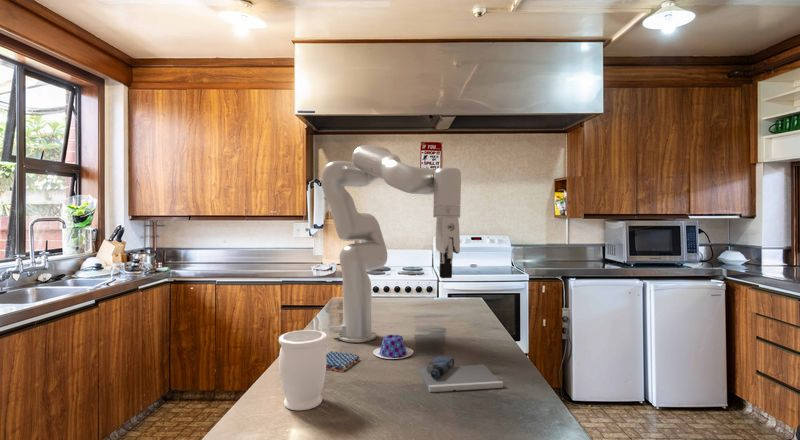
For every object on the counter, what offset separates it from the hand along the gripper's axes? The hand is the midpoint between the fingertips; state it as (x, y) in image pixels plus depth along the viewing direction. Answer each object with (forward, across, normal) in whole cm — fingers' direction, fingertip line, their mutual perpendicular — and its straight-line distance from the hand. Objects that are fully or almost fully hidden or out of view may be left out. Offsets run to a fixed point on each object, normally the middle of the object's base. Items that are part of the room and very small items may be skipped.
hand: (445, 277), depth 123 cm
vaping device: (+22, -4, 0) cm, 22 cm away
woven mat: (+25, +2, +30) cm, 39 cm away
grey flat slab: (+24, -13, -1) cm, 27 cm away
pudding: (+25, +9, +13) cm, 29 cm away
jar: (+24, -22, +37) cm, 49 cm away
